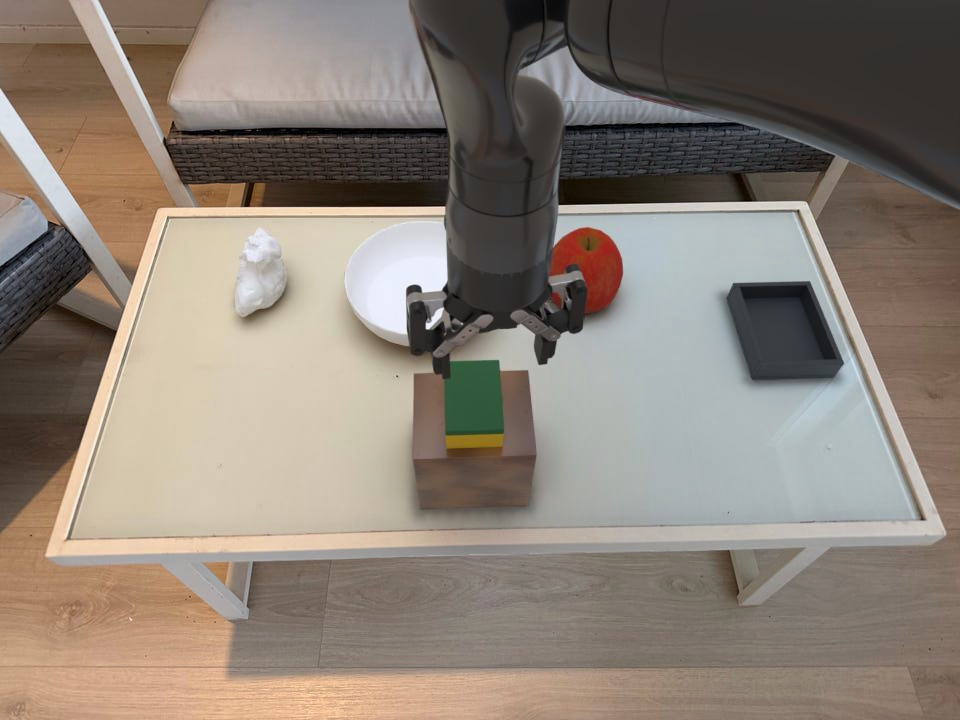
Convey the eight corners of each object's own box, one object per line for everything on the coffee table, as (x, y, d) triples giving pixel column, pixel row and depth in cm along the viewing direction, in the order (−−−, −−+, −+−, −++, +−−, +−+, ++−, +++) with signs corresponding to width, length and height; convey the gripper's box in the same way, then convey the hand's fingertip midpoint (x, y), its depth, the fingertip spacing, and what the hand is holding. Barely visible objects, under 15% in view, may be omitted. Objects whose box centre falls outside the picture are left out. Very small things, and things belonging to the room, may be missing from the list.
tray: (833, 377, 88) (844, 363, 85) (752, 379, 87) (760, 365, 85) (801, 295, 95) (810, 280, 93) (726, 297, 95) (733, 282, 92)
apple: (601, 259, 99) (614, 203, 90) (628, 314, 93) (645, 260, 84) (532, 272, 97) (538, 216, 88) (555, 329, 91) (564, 275, 83)
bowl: (510, 353, 89) (512, 323, 84) (357, 375, 87) (350, 346, 82) (481, 244, 100) (482, 212, 95) (345, 261, 98) (338, 229, 93)
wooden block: (521, 426, 83) (528, 369, 73) (528, 505, 77) (536, 455, 67) (420, 429, 83) (413, 373, 73) (419, 509, 77) (412, 459, 67)
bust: (260, 337, 93) (298, 297, 85) (204, 312, 89) (239, 268, 82) (281, 270, 100) (318, 228, 92) (231, 245, 96) (265, 198, 88)
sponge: (502, 447, 68) (504, 429, 65) (446, 449, 68) (445, 431, 65) (497, 378, 72) (499, 359, 70) (445, 380, 72) (444, 360, 69)
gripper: (404, 284, 45) (418, 412, 58) (616, 256, 47) (582, 387, 60) (390, 205, 49) (406, 341, 62) (585, 182, 51) (560, 319, 64)
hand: (493, 363), depth 61 cm, fingers open, 8 cm apart
